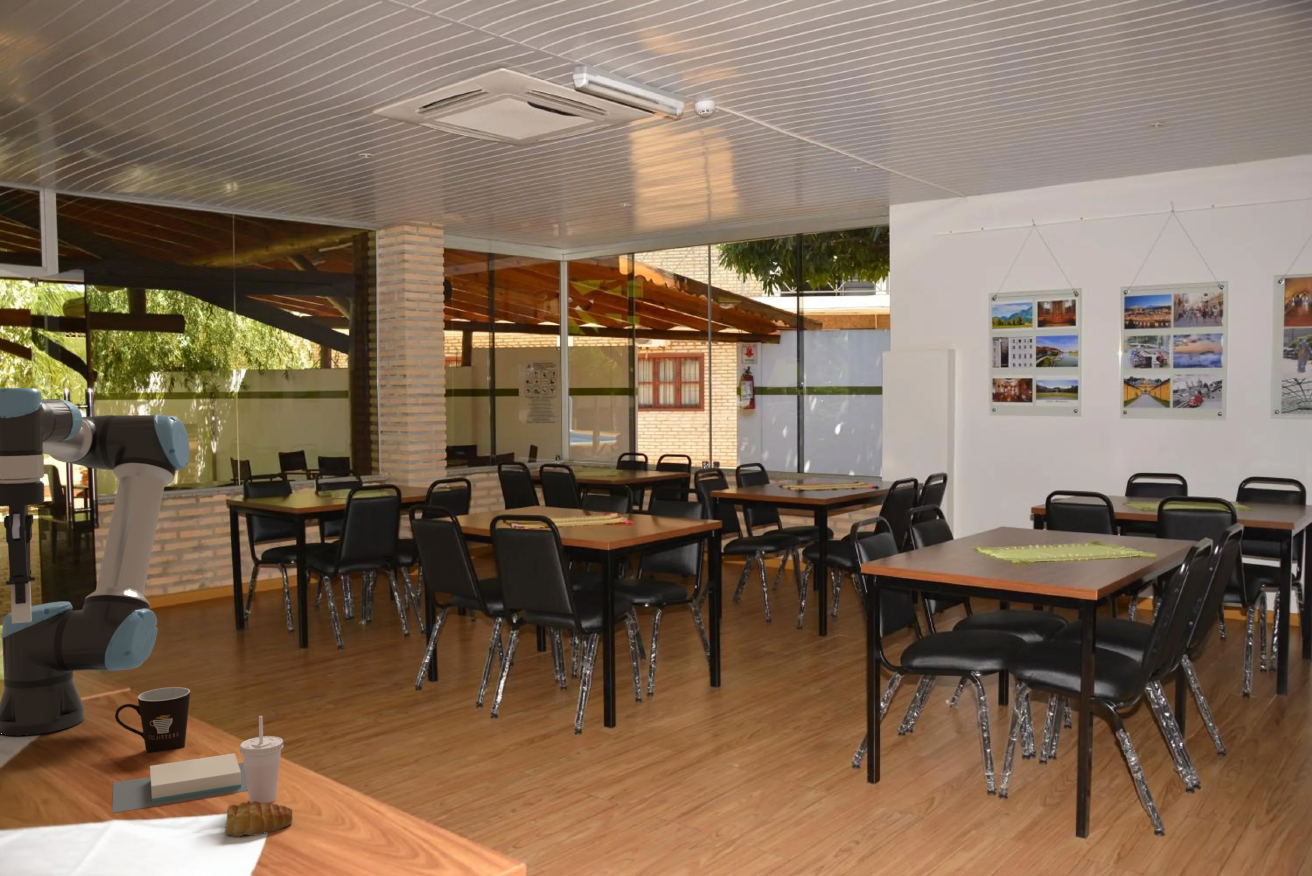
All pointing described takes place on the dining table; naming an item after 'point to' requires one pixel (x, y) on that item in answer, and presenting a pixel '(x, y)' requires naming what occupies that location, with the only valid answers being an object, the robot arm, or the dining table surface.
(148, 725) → the coffee mug
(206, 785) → the tile
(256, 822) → the pastry
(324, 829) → the dining table surface
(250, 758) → the smoothie
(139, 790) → the mat
